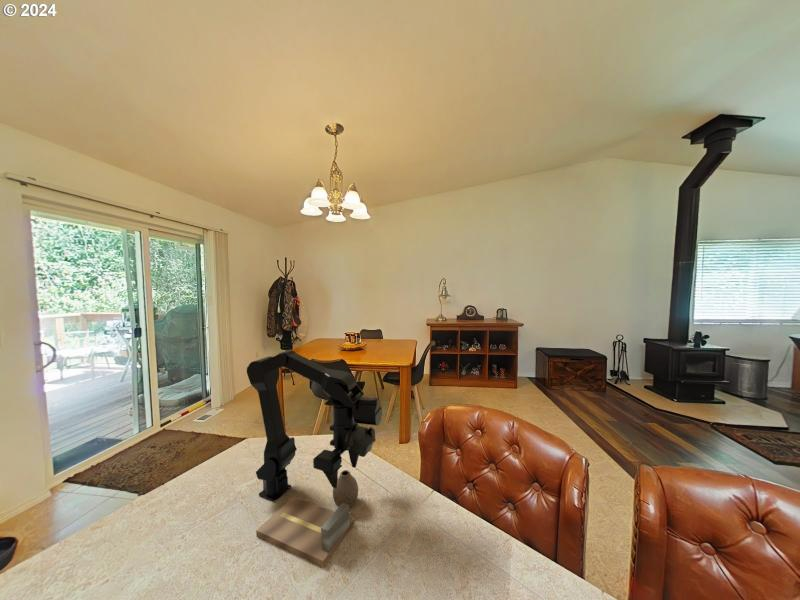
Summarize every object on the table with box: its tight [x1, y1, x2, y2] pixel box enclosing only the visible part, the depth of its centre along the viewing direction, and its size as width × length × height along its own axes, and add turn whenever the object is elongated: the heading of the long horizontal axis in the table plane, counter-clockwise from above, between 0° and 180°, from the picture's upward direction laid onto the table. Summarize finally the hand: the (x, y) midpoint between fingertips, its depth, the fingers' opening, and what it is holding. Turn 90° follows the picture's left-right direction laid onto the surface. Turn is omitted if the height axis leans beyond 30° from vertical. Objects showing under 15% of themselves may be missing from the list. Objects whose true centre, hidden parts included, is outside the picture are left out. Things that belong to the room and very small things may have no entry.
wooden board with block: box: [255, 496, 355, 569], centre depth 69 cm, size 20×12×6 cm, turn 66°
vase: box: [332, 469, 359, 509], centre depth 78 cm, size 7×7×9 cm
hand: (344, 476), depth 78 cm, fingers open, 9 cm apart
